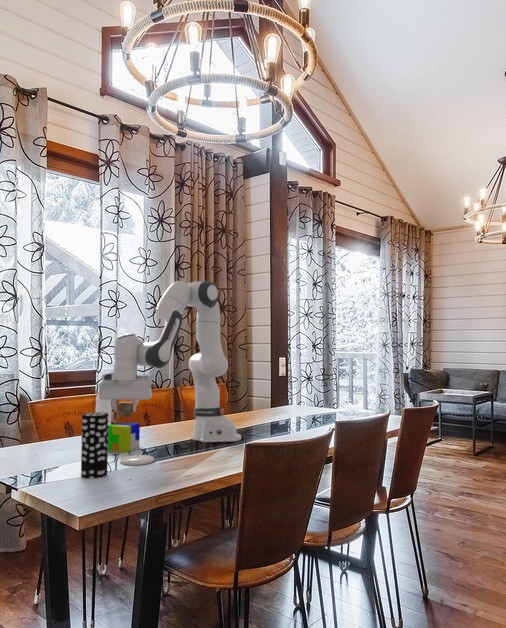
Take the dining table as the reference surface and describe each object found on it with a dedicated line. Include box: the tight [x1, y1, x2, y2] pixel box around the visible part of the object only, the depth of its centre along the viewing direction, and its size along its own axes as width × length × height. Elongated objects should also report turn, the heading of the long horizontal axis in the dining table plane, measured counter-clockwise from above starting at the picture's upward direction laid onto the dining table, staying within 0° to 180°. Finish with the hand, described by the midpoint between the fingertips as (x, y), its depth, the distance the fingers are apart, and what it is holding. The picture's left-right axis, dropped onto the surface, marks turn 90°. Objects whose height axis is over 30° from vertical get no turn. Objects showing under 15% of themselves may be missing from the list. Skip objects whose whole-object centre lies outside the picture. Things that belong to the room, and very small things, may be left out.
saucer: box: [119, 454, 155, 466], centre depth 191 cm, size 12×12×1 cm
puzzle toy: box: [108, 421, 141, 453], centre depth 214 cm, size 10×10×10 cm
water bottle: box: [95, 382, 112, 425], centre depth 239 cm, size 7×7×25 cm
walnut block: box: [116, 401, 134, 418], centre depth 201 cm, size 5×5×5 cm
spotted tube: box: [80, 412, 109, 480], centre depth 172 cm, size 8×8×20 cm
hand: (125, 411), depth 201 cm, fingers closed on walnut block, 5 cm apart
